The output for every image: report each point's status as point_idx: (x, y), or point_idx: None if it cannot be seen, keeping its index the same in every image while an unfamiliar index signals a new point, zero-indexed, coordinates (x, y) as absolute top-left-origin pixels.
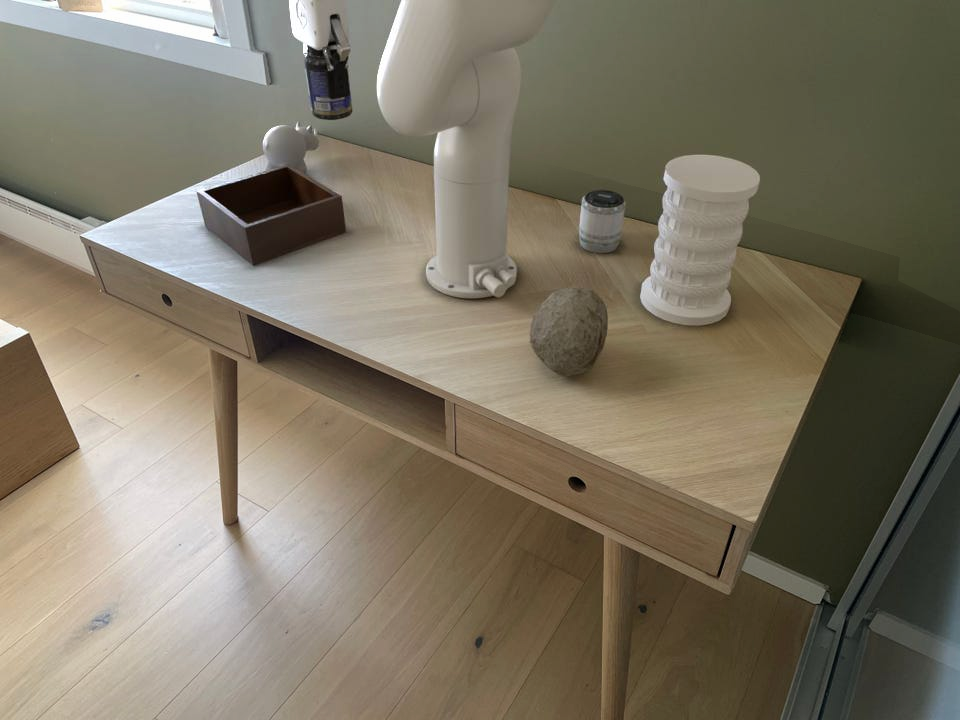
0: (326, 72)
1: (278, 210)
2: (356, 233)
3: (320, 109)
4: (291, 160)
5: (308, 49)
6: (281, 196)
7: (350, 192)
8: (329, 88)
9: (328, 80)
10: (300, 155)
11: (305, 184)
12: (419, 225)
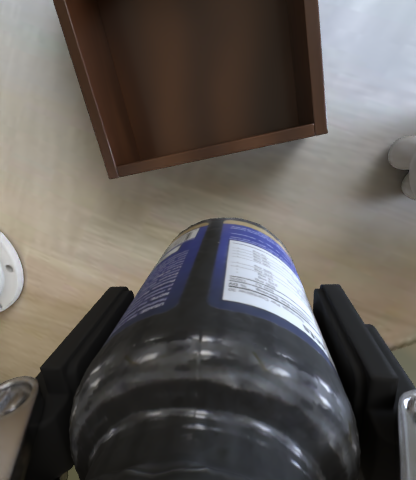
0: (47, 361)
1: (263, 81)
2: (128, 183)
3: (177, 240)
4: (411, 165)
5: (400, 467)
6: (299, 100)
7: (275, 233)
8: (93, 311)
9: (73, 334)
10: (413, 190)
11: (233, 140)
12: (116, 272)
